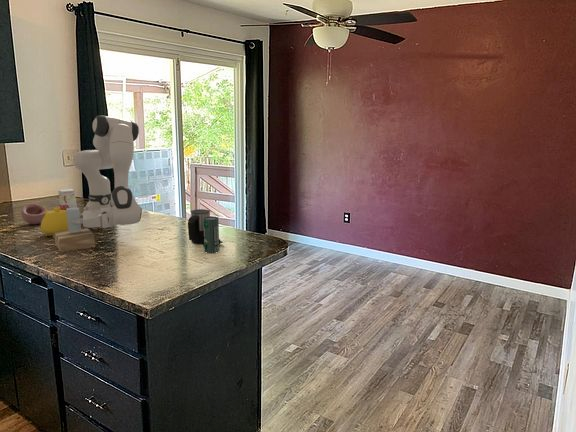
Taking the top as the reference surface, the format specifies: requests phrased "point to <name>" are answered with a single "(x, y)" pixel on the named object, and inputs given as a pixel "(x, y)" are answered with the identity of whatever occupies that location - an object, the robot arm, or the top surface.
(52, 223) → the teapot
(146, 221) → the top surface
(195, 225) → the milk frother
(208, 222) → the can
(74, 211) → the gray block
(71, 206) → the ink box
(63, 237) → the maple block
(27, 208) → the mortar and pestle
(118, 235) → the top surface
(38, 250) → the top surface
